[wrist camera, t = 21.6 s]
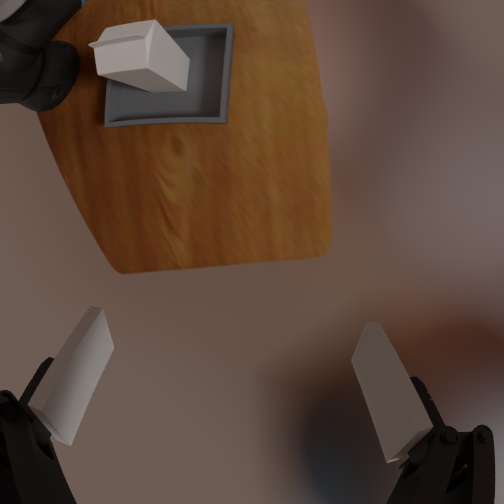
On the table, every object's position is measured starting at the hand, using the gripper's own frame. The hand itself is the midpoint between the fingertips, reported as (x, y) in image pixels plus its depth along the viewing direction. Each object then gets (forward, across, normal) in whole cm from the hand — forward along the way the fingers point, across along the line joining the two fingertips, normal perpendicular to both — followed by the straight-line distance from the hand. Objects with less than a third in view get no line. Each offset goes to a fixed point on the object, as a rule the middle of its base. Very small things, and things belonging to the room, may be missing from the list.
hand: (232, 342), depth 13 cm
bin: (+37, -13, +19) cm, 43 cm away
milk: (+36, -13, +19) cm, 43 cm away
